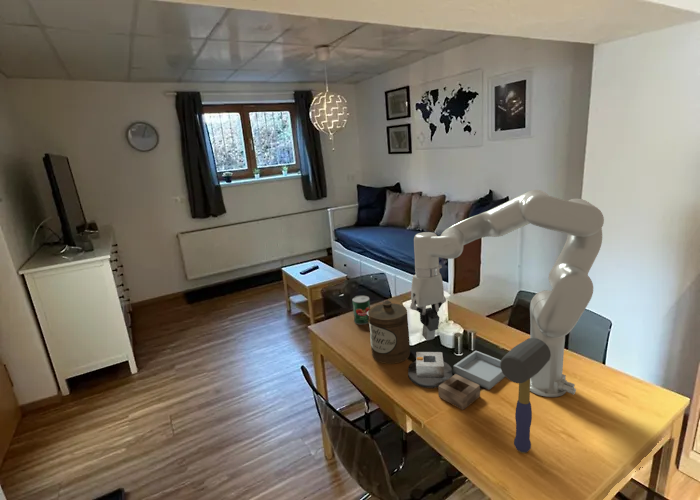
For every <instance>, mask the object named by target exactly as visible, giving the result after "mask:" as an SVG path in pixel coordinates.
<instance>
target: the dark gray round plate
mask: <svg viewBox="0 0 700 500" xmlns="http://www.w3.org/2000/svg"><path fill="white" fill-rule="evenodd" d="M443 363H444V377H417V371H416V360H415V361H413V362H412V363H410V364H409V366H408V368H407V375H408V378H409V380H410V381H411V383H413V384H415V385H416V386H418V387H421V388H425V389H438V386H439V385H441V384H442V383H443V382H445V381H446V380H448V379H449V378H450V377H452V376H453V369H452V367H451V365H450V364H449V363H447V362H446V361H444V360H443Z"/></svg>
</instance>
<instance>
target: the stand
mask: <svg viewBox="0 0 700 500" xmlns="http://www.w3.org/2000/svg"><path fill="white" fill-rule="evenodd" d="M437 389H438V398H440V399H442V400H444V401H445V402H447V403H449V404H451V405H453V406H454V407H456V408H459V409H460V410H461V411H463V410H466V408H468V407H469V406H470V405H472V404H473V403H474V402H475V401H476V400H477V399H479V398H480V397H481V386H480V385H478V384H476V383H474V382H472V381H470V380H468V379H466V378H463V377H461V376H459V375H457V374H454V375H453V374H452V377H450V378H449V379H448V380H446V381H445V382H443V383H442V384H441V385H439V386H438V388H437Z"/></svg>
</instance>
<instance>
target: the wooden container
mask: <svg viewBox="0 0 700 500" xmlns="http://www.w3.org/2000/svg"><path fill="white" fill-rule="evenodd" d="M408 317H409V316H408V309H407V308H406V306H405V305H402V304H399V303H392V301H390V300H384V301H383V302H382V303H380V304H376V305H374V306H373V307H370V310H369V323H370V327H369V331H370V332H369V338H370V347H371V356H372V358H373V359H374V360H375V361H377V362H379V363H382V364H386V365H387V364H388V365H389V364H398V363H401V362H404V361H405V360H407V359H409V357H410V354H411V347H410V343H411V342H410V330H409V320H408ZM369 323H368V324H369Z"/></svg>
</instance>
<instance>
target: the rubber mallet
mask: <svg viewBox="0 0 700 500" xmlns="http://www.w3.org/2000/svg"><path fill="white" fill-rule="evenodd" d="M550 356H551V353H550V349H549V347H548V346H547V345H546V343H544V342H543V341H542V340H540V339H538V338H530V337H529V338H527V339H525V340H523V341H522V342H520V343H518V344H517V345H515V346H513V347H512V348H511V349H510V350H509V351H508V352H507V353H505V355H504V356H503V357H502V358H501V359H500V360H501V363H500V367H501V370H502V373H503V374H504V375H505V377H504V378H506V379H508V380H509V381H511V382H512V383H515V384H518V395H517V397H518V398H517V402H516V405H515V407H516V408H515V415H514V416H515V417H514V418H515V438H514V440H513V445H514V447H515V449H516V451H517V452H519V453H520V454H527V453H528V452H529V451H530V450H531V449H532V443H531V439H530V438H531V437H530V436H531V427H532V426H531V425H532V422H533V421H532V419H533V412H532V404H531V403H532V402H531V400H530V399H531V395H530V394H531V391H530V378H532V377H533V376H534V375H536V374H537V373H538V372H539V371H540V370H541V369H542V368H543V367H544V366H545V365H546V363H547V362H548V361H549V360H550Z"/></svg>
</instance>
